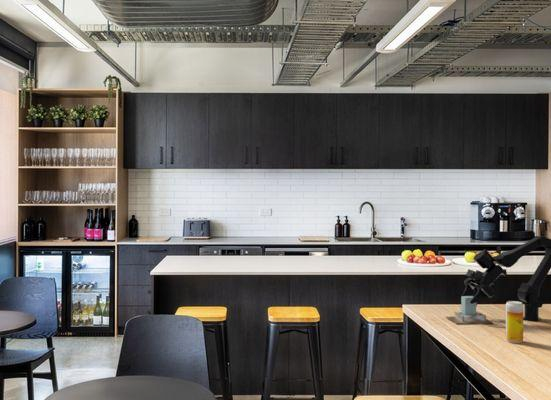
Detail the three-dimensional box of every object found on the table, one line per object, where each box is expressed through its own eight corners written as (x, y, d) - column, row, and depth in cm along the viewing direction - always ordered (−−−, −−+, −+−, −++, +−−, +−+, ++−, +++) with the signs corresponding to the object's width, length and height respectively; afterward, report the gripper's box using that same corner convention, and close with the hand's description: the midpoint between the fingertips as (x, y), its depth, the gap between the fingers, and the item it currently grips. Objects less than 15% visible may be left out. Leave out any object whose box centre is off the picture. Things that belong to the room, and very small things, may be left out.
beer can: (525, 344, 198) (525, 304, 197) (507, 343, 199) (507, 303, 199) (520, 339, 203) (520, 301, 203) (504, 338, 205) (504, 300, 205)
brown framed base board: (479, 317, 241) (479, 310, 241) (492, 323, 229) (492, 316, 229) (445, 318, 239) (445, 311, 239) (457, 324, 227) (457, 317, 227)
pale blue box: (474, 318, 236) (474, 296, 236) (478, 320, 232) (478, 297, 232) (461, 318, 236) (461, 296, 236) (465, 320, 232) (465, 298, 232)
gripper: (468, 260, 243) (445, 284, 243) (487, 266, 225) (462, 292, 224) (484, 277, 244) (461, 301, 243) (505, 284, 225) (480, 310, 225)
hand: (466, 301), depth 234 cm, fingers open, 9 cm apart
